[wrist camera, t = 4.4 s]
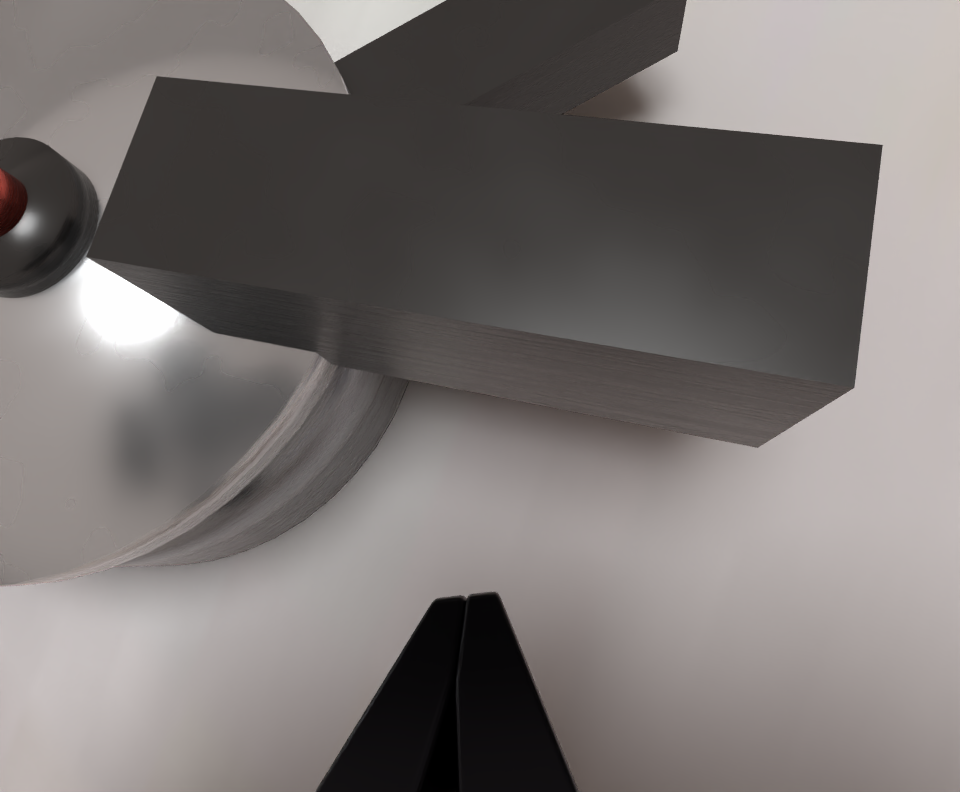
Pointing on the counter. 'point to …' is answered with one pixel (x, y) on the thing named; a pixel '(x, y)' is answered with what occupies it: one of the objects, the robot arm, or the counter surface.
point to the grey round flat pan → (451, 80)
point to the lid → (365, 264)
